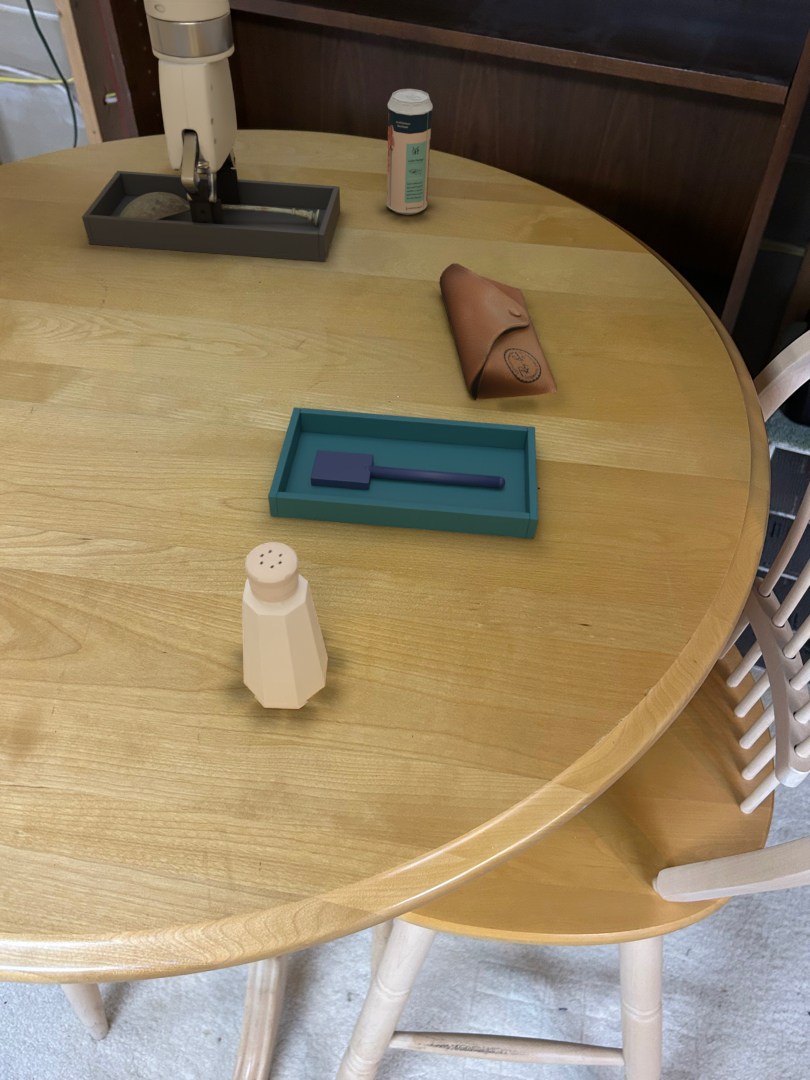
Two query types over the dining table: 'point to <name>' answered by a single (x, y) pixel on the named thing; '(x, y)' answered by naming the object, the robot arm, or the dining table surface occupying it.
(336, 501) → the teal tray
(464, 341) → the sunglasses case
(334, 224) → the grey tray
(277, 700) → the pepper shaker
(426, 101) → the beer can
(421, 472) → the navy spatula
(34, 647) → the dining table surface
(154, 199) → the soupspoon
